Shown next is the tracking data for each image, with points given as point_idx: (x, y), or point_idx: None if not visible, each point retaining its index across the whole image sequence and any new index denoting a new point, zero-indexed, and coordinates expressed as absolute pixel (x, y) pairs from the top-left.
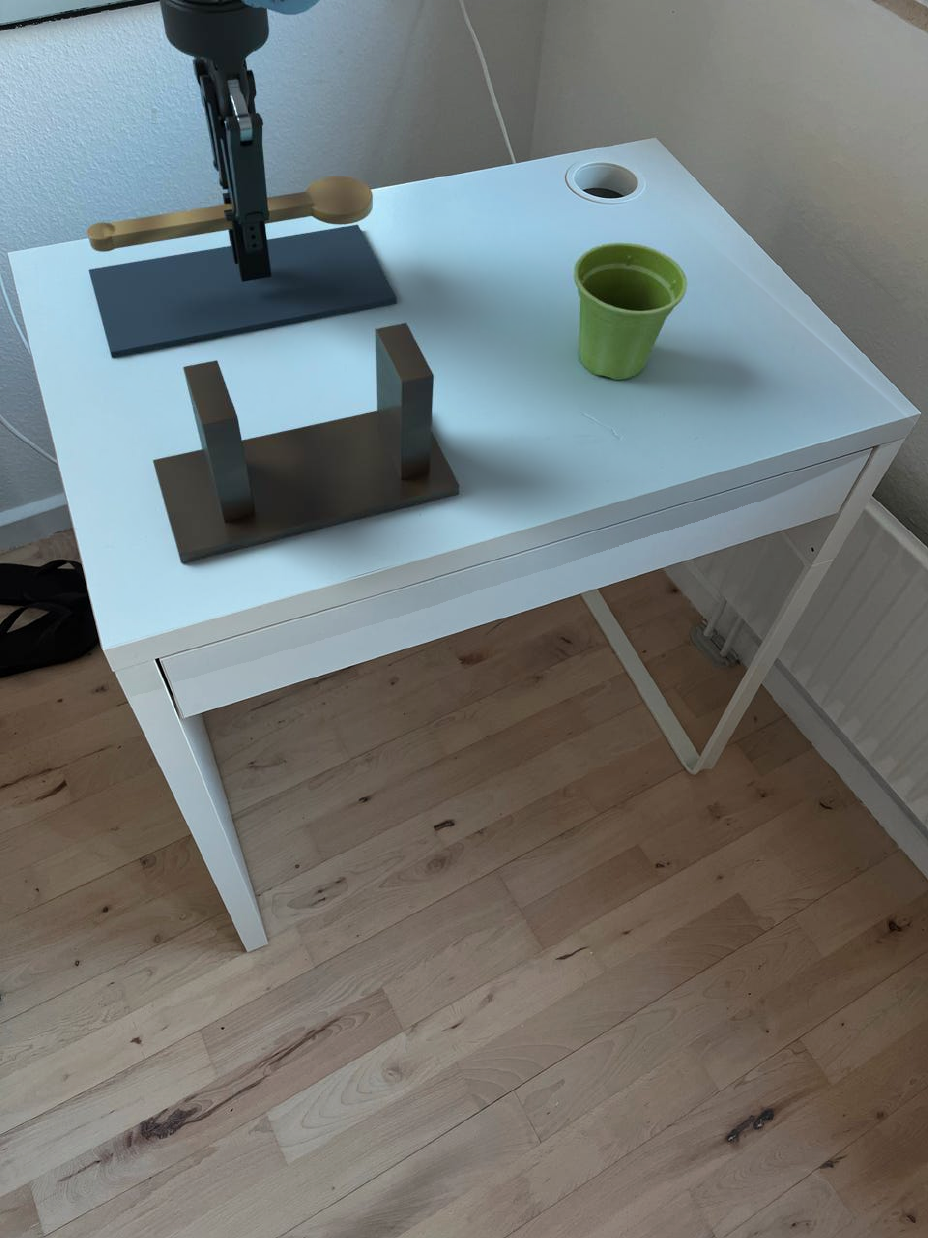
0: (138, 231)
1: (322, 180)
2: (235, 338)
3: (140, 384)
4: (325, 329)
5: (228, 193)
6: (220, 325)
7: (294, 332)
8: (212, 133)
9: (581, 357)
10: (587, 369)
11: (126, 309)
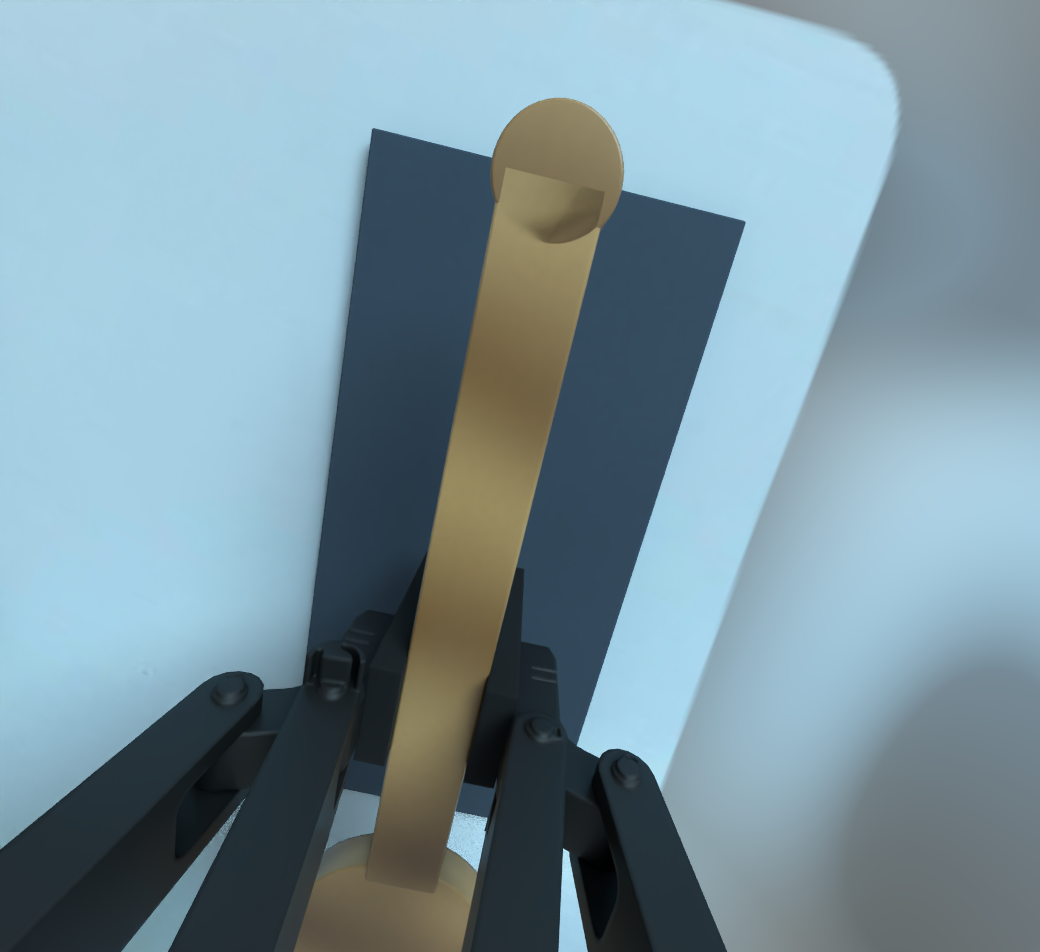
0: (473, 324)
1: None
2: (323, 448)
3: (249, 163)
4: (275, 622)
5: (507, 713)
6: (355, 435)
7: (291, 565)
8: (641, 932)
9: None
10: None
11: None
